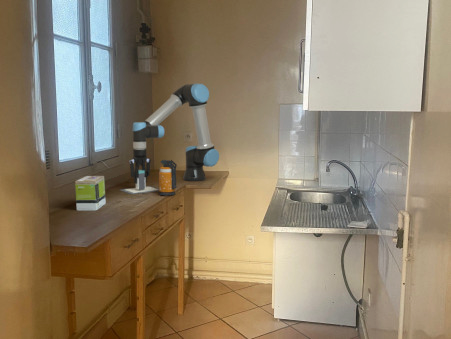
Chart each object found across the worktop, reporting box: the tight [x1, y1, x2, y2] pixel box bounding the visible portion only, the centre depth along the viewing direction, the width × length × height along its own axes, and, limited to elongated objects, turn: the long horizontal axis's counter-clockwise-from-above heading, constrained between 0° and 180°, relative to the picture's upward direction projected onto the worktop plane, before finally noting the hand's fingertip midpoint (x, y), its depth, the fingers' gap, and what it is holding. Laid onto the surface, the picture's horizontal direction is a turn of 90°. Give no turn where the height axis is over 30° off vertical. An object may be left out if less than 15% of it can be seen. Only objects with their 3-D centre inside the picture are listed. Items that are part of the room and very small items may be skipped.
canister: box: [158, 159, 178, 197], centre depth 246 cm, size 9×11×20 cm
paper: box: [119, 185, 159, 195], centre depth 261 cm, size 20×16×1 cm
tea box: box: [74, 175, 107, 212], centre depth 216 cm, size 15×10×15 cm, turn 178°
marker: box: [137, 169, 145, 190], centre depth 258 cm, size 4×4×11 cm
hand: (140, 188), depth 259 cm, fingers closed on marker, 4 cm apart
